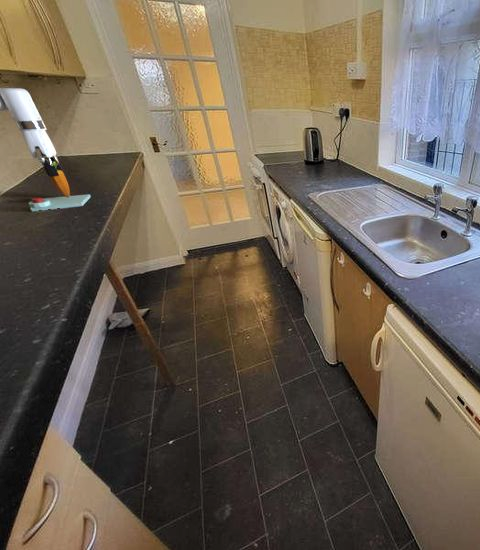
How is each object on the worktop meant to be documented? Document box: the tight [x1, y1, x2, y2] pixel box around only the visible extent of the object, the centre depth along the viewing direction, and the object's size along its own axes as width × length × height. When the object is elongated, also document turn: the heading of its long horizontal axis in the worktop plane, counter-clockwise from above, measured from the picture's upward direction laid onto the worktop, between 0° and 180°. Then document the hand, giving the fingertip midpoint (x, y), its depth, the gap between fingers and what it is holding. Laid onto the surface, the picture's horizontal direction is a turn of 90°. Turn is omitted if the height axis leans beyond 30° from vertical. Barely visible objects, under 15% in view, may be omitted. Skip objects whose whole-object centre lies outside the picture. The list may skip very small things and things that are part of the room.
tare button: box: [31, 197, 44, 203], centre depth 119 cm, size 3×3×2 cm
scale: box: [27, 194, 92, 212], centre depth 125 cm, size 16×14×3 cm
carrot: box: [49, 162, 71, 198], centre depth 124 cm, size 5×5×15 cm
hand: (56, 174), depth 123 cm, fingers closed on carrot, 4 cm apart
